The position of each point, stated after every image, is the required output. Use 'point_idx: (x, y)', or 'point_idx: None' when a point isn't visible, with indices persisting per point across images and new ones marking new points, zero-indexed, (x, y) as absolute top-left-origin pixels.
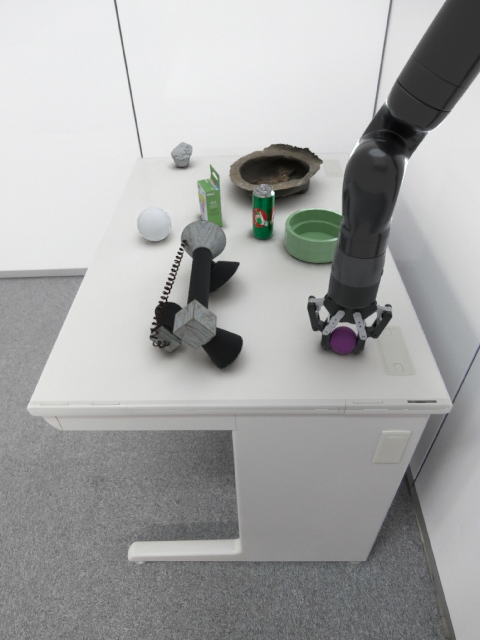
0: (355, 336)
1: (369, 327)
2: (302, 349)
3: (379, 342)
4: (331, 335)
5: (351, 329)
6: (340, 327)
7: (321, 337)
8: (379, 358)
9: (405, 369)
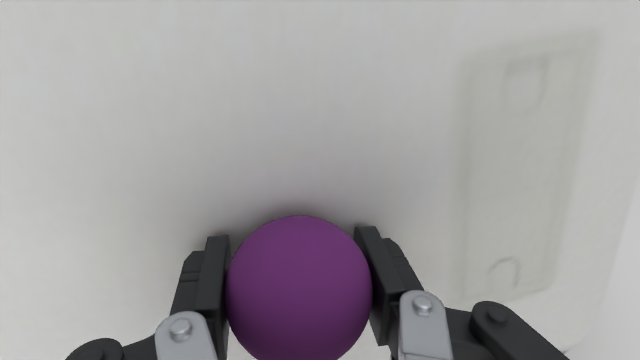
0: (366, 321)
1: (462, 350)
2: (112, 285)
3: (469, 168)
4: (233, 332)
5: (347, 312)
6: (279, 328)
7: (182, 273)
8: (447, 253)
9: (526, 277)
